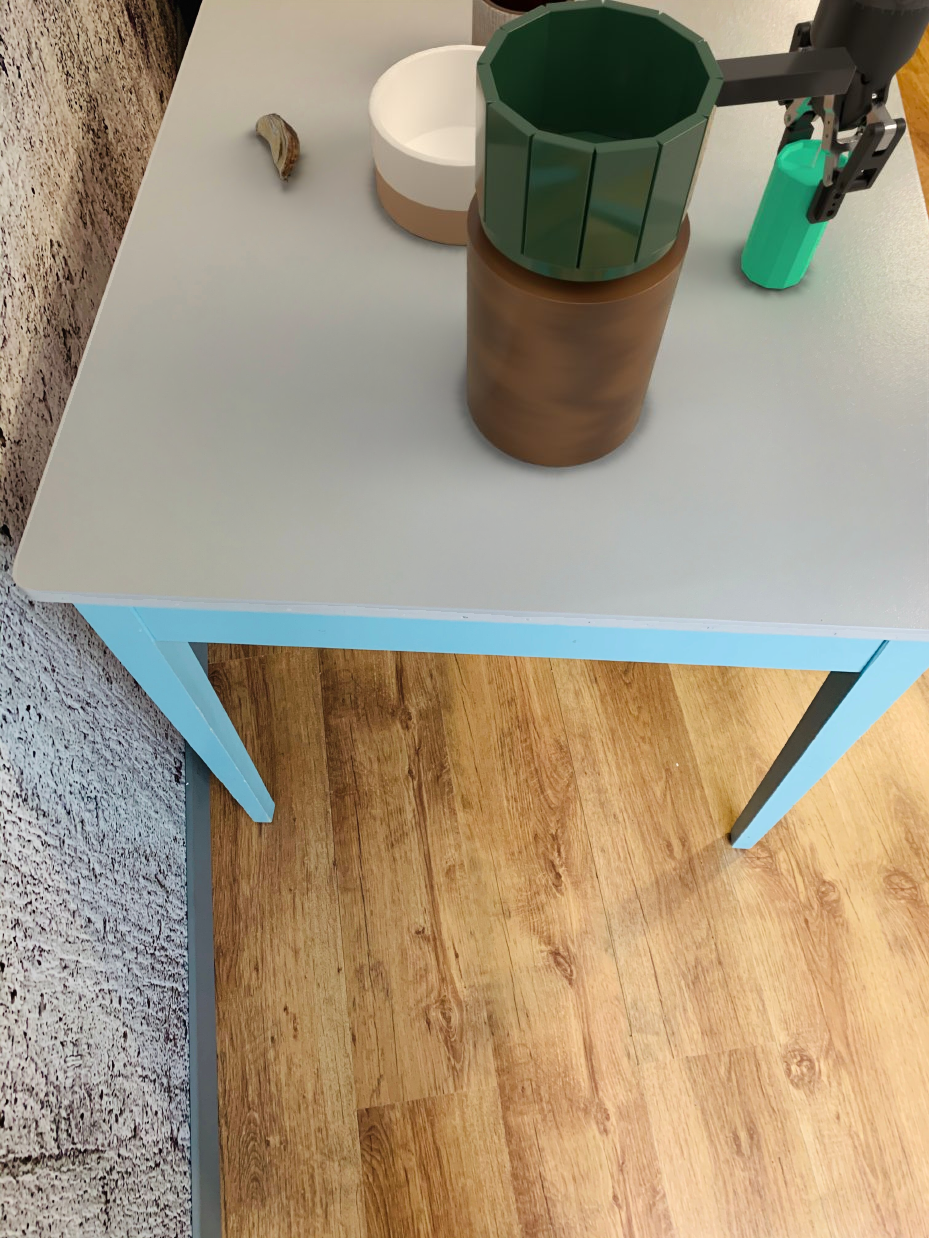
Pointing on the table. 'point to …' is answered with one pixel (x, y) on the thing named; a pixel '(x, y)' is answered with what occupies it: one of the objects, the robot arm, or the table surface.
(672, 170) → the pot
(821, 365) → the table surface
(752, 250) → the candle
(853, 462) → the table surface
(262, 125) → the oyster shell
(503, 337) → the stand
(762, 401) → the table surface
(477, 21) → the planter
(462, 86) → the bowl
